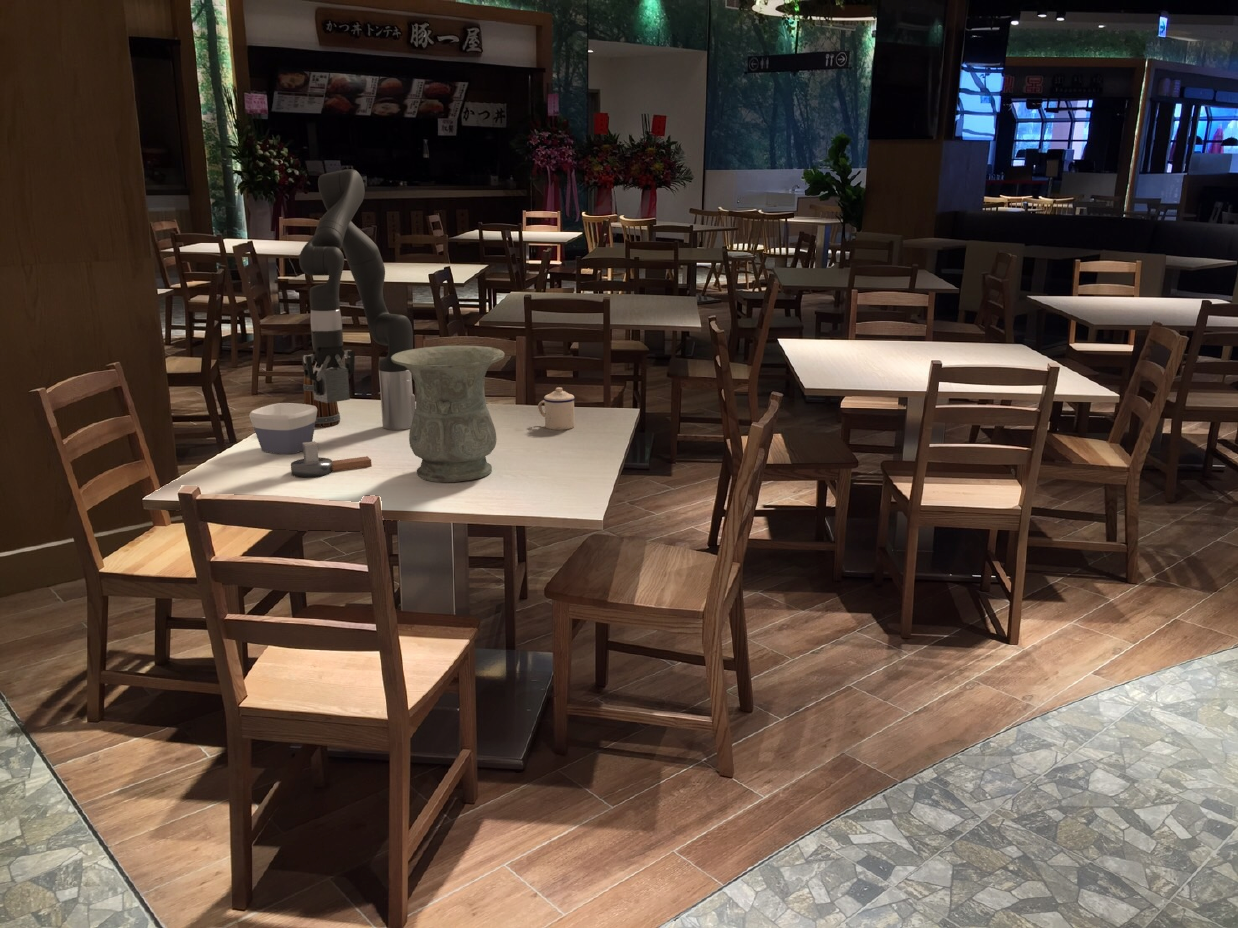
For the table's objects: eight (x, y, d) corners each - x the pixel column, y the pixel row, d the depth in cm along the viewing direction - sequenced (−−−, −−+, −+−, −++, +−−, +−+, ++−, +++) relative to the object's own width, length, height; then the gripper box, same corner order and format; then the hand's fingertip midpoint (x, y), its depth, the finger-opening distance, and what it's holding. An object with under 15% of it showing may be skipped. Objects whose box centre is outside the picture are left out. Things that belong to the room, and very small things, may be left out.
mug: (335, 428, 302) (330, 378, 298) (299, 428, 303) (294, 378, 298) (349, 416, 317) (345, 368, 313) (315, 416, 318) (311, 368, 314)
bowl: (245, 453, 275) (240, 413, 272) (281, 440, 289) (278, 401, 286) (292, 458, 270) (289, 417, 267) (327, 444, 284) (324, 405, 281)
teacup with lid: (581, 425, 304) (580, 386, 301) (564, 431, 297) (563, 392, 293) (547, 420, 310) (547, 382, 307) (530, 426, 302) (529, 388, 299)
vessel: (383, 486, 245) (374, 362, 237) (419, 457, 270) (412, 344, 262) (493, 490, 241) (488, 364, 233) (519, 460, 267) (515, 346, 259)
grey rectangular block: (336, 396, 266) (334, 365, 264) (349, 399, 262) (347, 368, 260) (314, 399, 262) (311, 368, 260) (327, 403, 257) (325, 371, 255)
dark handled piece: (364, 460, 268) (362, 432, 266) (374, 469, 259) (372, 440, 257) (287, 470, 259) (285, 441, 257) (296, 480, 251) (293, 450, 249)
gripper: (343, 323, 265) (348, 387, 269) (292, 329, 255) (298, 395, 259) (359, 326, 260) (363, 391, 264) (308, 331, 250) (313, 399, 254)
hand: (331, 393), depth 261 cm, fingers closed on grey rectangular block, 6 cm apart
